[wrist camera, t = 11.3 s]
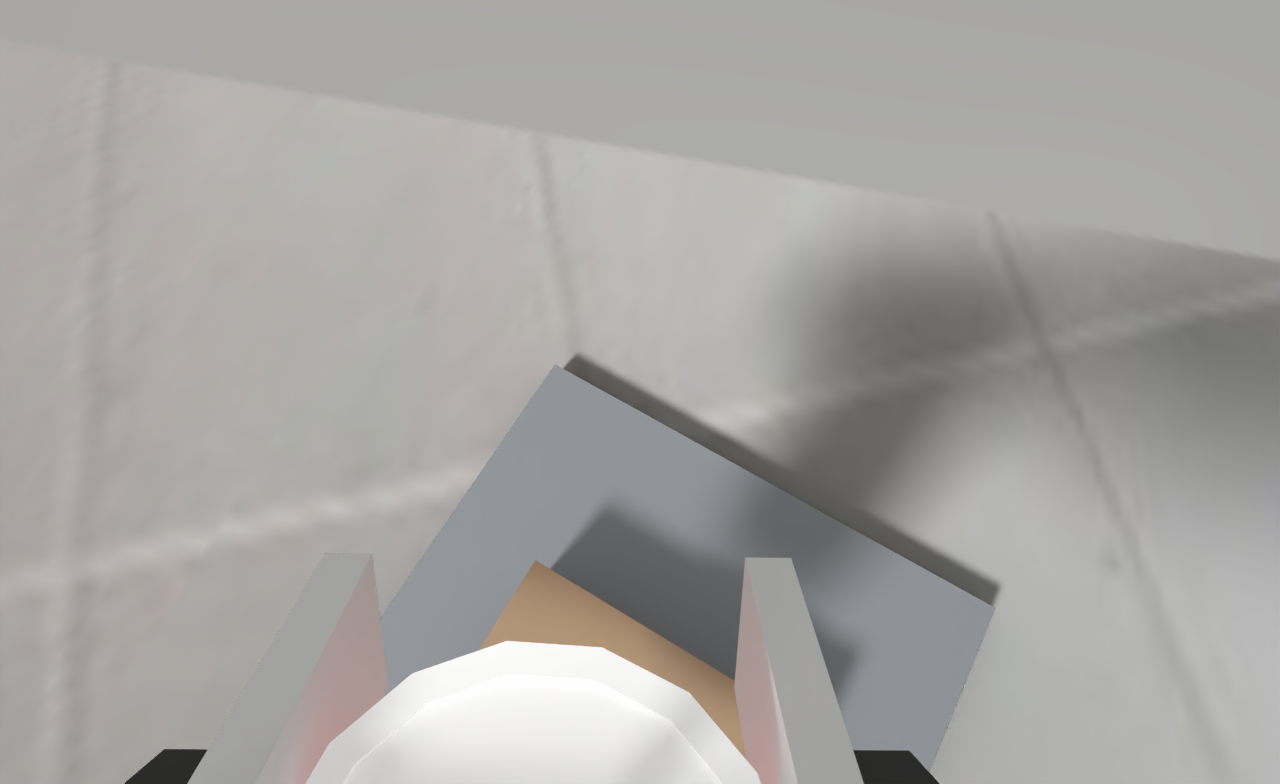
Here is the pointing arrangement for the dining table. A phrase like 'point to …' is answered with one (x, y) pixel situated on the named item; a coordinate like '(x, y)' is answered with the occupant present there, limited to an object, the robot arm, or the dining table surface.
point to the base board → (683, 563)
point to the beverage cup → (534, 725)
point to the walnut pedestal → (611, 640)
